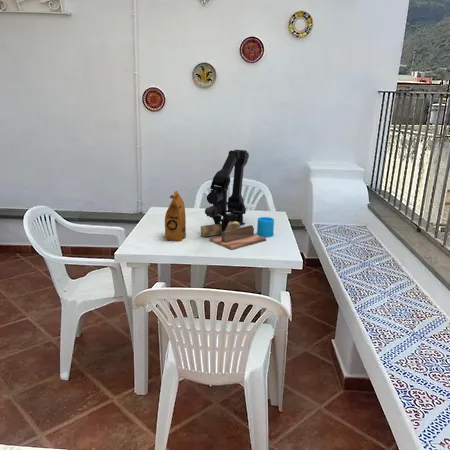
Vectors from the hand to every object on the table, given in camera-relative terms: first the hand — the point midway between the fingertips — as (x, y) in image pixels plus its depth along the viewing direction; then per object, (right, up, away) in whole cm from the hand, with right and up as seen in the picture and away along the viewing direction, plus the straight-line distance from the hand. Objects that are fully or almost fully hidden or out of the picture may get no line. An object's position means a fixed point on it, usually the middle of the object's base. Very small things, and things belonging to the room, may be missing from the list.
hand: (220, 230), depth 220 cm
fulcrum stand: (+8, -5, -9) cm, 13 cm away
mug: (+23, -2, +3) cm, 23 cm away
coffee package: (-22, -3, -6) cm, 23 cm away
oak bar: (0, -1, 0) cm, 1 cm away
